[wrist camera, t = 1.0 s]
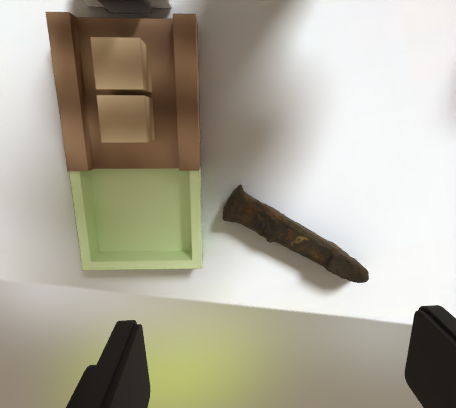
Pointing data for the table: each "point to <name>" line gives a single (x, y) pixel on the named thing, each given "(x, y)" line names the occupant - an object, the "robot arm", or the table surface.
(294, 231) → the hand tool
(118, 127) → the light brown wooden block
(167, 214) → the tray
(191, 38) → the slot board
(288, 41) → the table surface
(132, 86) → the light brown cube
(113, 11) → the cube with crossbar
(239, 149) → the table surface
